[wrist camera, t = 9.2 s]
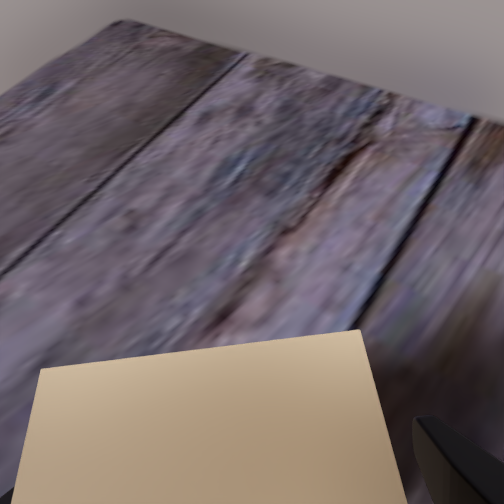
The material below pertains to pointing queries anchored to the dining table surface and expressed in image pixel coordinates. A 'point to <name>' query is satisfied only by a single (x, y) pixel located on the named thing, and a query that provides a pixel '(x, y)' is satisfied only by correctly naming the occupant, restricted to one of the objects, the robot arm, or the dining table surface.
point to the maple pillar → (213, 428)
